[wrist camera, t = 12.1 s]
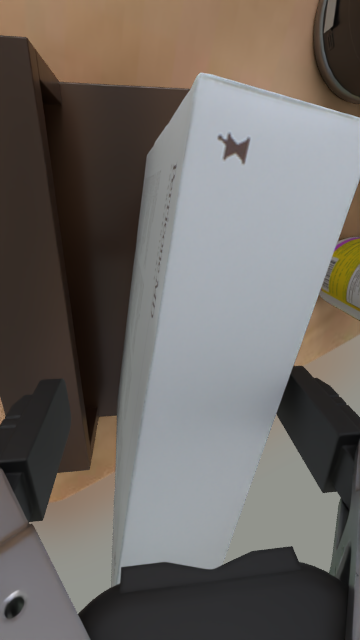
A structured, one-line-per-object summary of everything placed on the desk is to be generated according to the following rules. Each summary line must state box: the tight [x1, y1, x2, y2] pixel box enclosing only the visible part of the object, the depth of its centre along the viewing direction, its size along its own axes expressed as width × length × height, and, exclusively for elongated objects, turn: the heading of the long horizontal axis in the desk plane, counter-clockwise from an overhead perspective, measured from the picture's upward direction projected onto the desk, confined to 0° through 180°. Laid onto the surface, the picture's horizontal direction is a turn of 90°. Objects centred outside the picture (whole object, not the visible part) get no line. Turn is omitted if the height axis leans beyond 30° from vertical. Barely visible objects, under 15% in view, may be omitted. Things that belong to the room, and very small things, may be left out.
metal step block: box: [0, 35, 190, 473], centre depth 23 cm, size 14×26×9 cm, turn 179°
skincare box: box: [111, 73, 360, 587], centre depth 18 cm, size 21×5×16 cm, turn 170°
